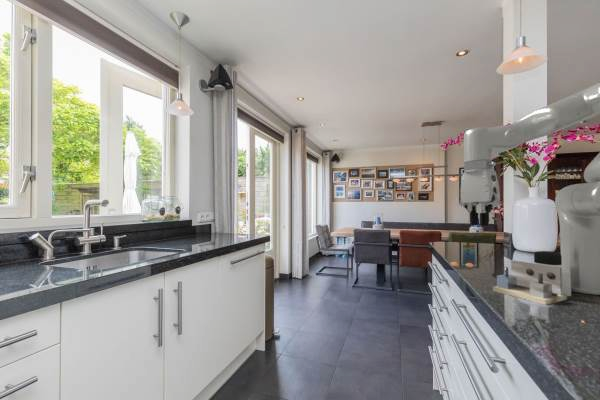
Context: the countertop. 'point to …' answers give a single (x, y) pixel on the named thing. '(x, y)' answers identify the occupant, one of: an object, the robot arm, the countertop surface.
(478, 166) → the robot arm
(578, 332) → the countertop surface
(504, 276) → the sliding pin
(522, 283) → the board
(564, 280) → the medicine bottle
